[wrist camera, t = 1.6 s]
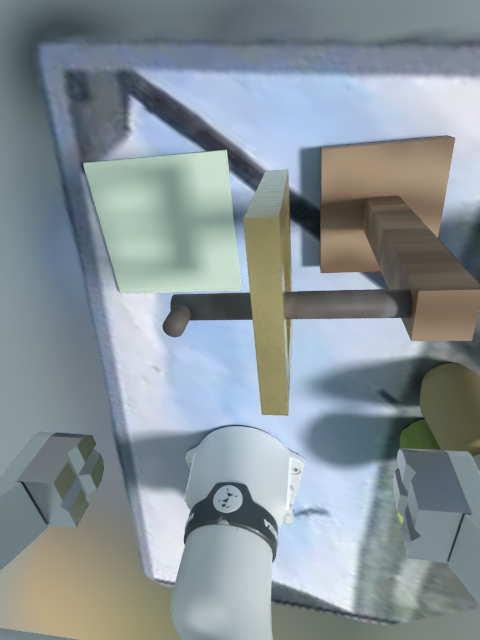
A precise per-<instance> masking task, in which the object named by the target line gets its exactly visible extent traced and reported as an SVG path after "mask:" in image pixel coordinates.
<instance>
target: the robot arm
mask: <svg viewBox="0 0 480 640" xmlns="http://www.w3.org/2000/svg"><path fill="white" fill-rule="evenodd" d="M95 445H96V442H95V440H94V438H93V436H92V435H83V434H69V433H55V432H39V433H38V434H36V435H34V436H33V438H32V439H31V440H30V441H29V443H28V444H27V445H26V446H25V448H24V449H23V450H22V451H21V453H20V454H19V455H18V456H17V458H16V459H15V460H14V462H13V463H12V464H11V465H10V467H9V468H8V469H7V470H6V472H5V473H4V474H3V475H2V477H1V478H0V571H1V570H2V569H3V568H4V567H5V566H6V565H7V564H8V563H9V562H10V561H12V560H13V559H14V558H15V557H16V556H17V555H18V554H19V553H20V552H21V551H23V549H24V548H26V547H27V546H28V545H29V544H30V543H31V542H32V541H34V540H35V539H36V538H37V537H38V536H39V535H40V534H41V533H42V532H43V531H44V530H46V529H47V528H48V526H63V527H77V526H78V524H79V522H80V520H81V518H82V516H83V514H84V513H85V510H86V509H87V507H88V505H89V502H88V495H90V494H91V493H92V492H94V491H95V490H96V489H97V488H98V486H99V484H100V482H101V479H102V475H103V470H104V465H103V459H102V457H101V455H100V454H99V453H98V452H97V451H95V450H94V447H95ZM185 461H186V463H187V465H188V466H189V468H190V474H189V479H188V483H187V488H186V492H185V498H184V499H185V502H186V503H187V506H188V508H189V509H190V510H191V511H190V514H189V518H188V520H187V522H186V527H185V534H184V544H185V547H184V551H183V555H182V559H181V563H180V566H179V570H178V574H177V578H176V582H175V586H174V590H173V593H172V597H171V616H172V620H173V623H174V626H175V628H176V630H177V632H178V634H179V636H180V637H181V639H182V640H273V636H272V626H271V575H272V563H273V561H274V560H275V557H276V552H277V548H278V534H279V532H280V529H281V526H282V523H284V524H290V525H291V524H293V516H294V509H293V505H294V501H295V498H296V494H297V491H298V487H299V484H300V480H301V477H302V473H303V470H304V465H305V460H304V458H302V457H301V456H299V455H298V454H296V453H293V452H291V451H289V450H288V449H287V448H286V447H285V446H284V445H283V444H282V443H281V442H279V441H278V440H277V439H276V438H274V437H273V436H271V435H269V434H268V433H265V432H263V431H261V430H258V429H254V428H250V427H242V426H231V427H225V428H221V429H218V430H215V431H213V432H211V433H210V434H208V435H207V436H206V437H205V438H204V439H203V440H202V442H201V443H200V444H199V445H198V446H197V447H195V448H193V449H191V450H189V451H187V453H186V456H185ZM397 462H398V466H399V468H398V469H397V470H396V471H395V473H394V497H395V503H396V508H397V511H398V512H399V514H400V515H401V516H402V517H403V523H402V528H401V530H402V535H403V539H404V543H405V548H406V552H407V556H408V558H411V559H420V560H428V561H436V562H445V563H448V566H449V567H450V568H451V570H452V571H453V572H454V573H455V575H456V576H457V577H458V578H459V580H460V581H461V582H462V583H463V585H464V586H465V587H466V588H467V590H468V591H469V592H470V593H471V595H472V596H473V597H474V598H475V600H476V601H477V602H478V603H479V605H480V472H479V470H478V468H477V466H476V464H475V462H474V460H473V457H472V455H471V454H470V453H469V452H468V451H446V450H445V451H443V450H427V449H399V451H398V455H397ZM0 640H77V639H70V638H64V637H57V636H50V635H43V634H37V633H30V632H23V631H16V630H10V629H3V628H0Z"/></svg>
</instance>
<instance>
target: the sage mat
mask: <svg viewBox="0 0 480 640" xmlns="http://www.w3.org/2000/svg"><path fill="white" fill-rule="evenodd" d="M83 165H84V169H85V172H86V176H87V179H88V183H89V186H90V189H91V193H92V196H93V200H94V203H95V207H96V210H97V214H98V217H99V221H100V224H101V228H102V231H103V235H104V238H105V242H106V245H107V249H108V252H109V255H110V259H111V262H112V266H113V269H114V273H115V276H116V280H117V283H118V287H119V290H120V294H129V293H168V292H207V291H241V289H242V288H241V278H240V269H239V260H238V250H237V241H236V232H235V222H234V213H233V204H232V194H231V185H230V176H229V166H228V157H227V150H217V151H206V152H195V153H184V154H173V155H162V156H152V157H141V158H130V159H119V160H108V161H97V162H86V163H83Z"/></svg>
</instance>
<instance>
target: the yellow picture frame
mask: <svg viewBox="0 0 480 640" xmlns="http://www.w3.org/2000/svg"><path fill="white" fill-rule="evenodd" d="M243 222H244V232H245V243H246V253H247V264H248V274H249V285H250V295H251V306H252V317H253V327H254V338H255V348H256V359H257V369H258V380H259V390H260V401H261V411H262V415H288V411H289V390H290V368H291V347H292V325H293V319H286V305H285V292H292V270H291V240H290V209H289V179H288V169H285V170H272V171H266V172H265V174H264V176H263V178H262V180H261V182H260V184H259V186H258V188H257V191H256V193H255V195H254V197H253V199H252V201H251V203H250V205H249V208H248V210H247V212H246V214H245V216H244V218H243Z"/></svg>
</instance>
